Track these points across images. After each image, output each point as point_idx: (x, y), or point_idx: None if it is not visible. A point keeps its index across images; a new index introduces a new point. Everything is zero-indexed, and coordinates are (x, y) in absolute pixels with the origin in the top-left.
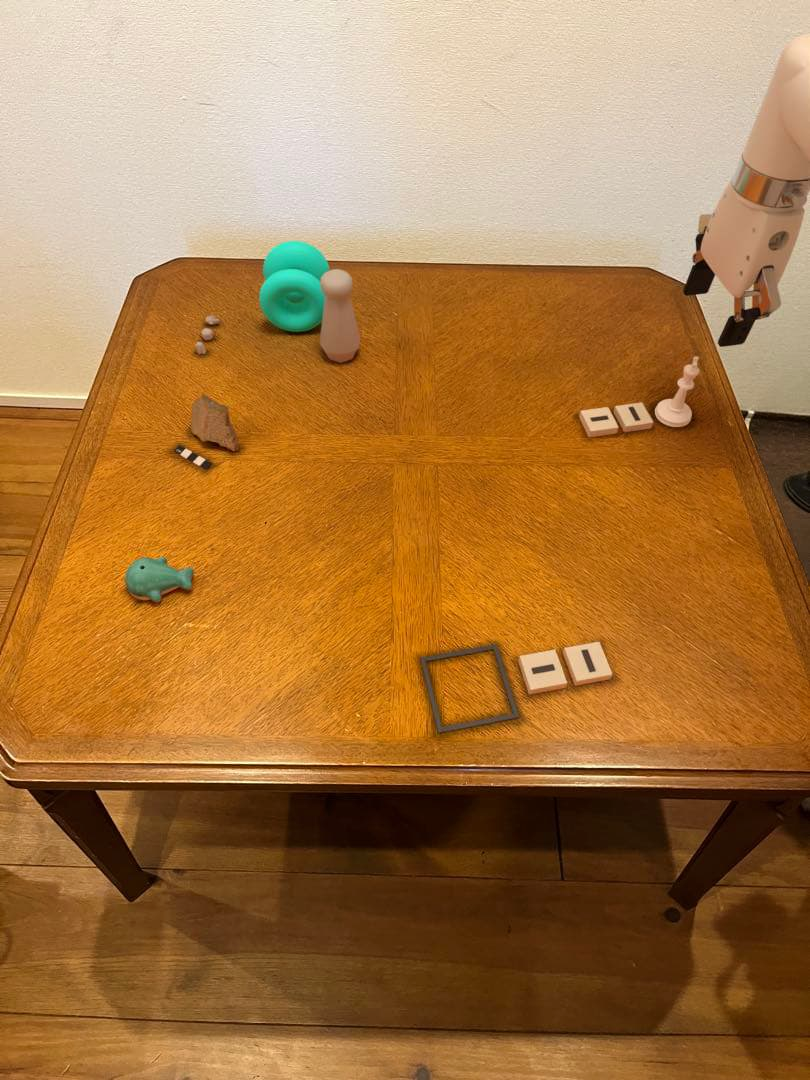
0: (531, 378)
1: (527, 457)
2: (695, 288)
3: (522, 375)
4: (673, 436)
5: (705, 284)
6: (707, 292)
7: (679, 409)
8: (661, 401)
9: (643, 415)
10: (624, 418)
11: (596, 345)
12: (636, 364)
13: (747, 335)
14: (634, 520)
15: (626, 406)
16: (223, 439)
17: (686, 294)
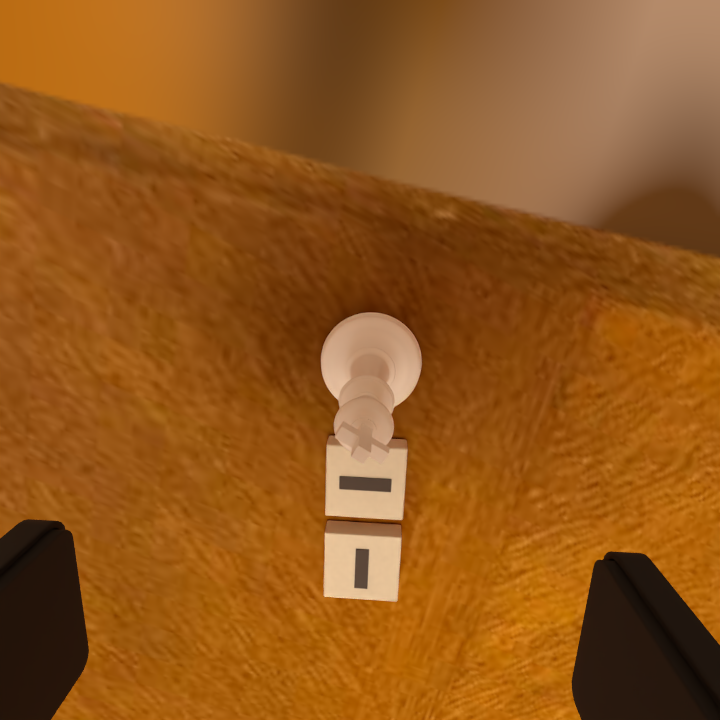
0: (179, 627)
1: (419, 713)
2: (50, 662)
3: (166, 641)
4: (447, 395)
5: (21, 625)
6: (67, 531)
7: (389, 373)
8: (328, 385)
9: (377, 464)
10: (375, 513)
11: (69, 440)
12: (157, 368)
13: (681, 602)
14: None
15: (334, 490)
16: None
17: (83, 666)
